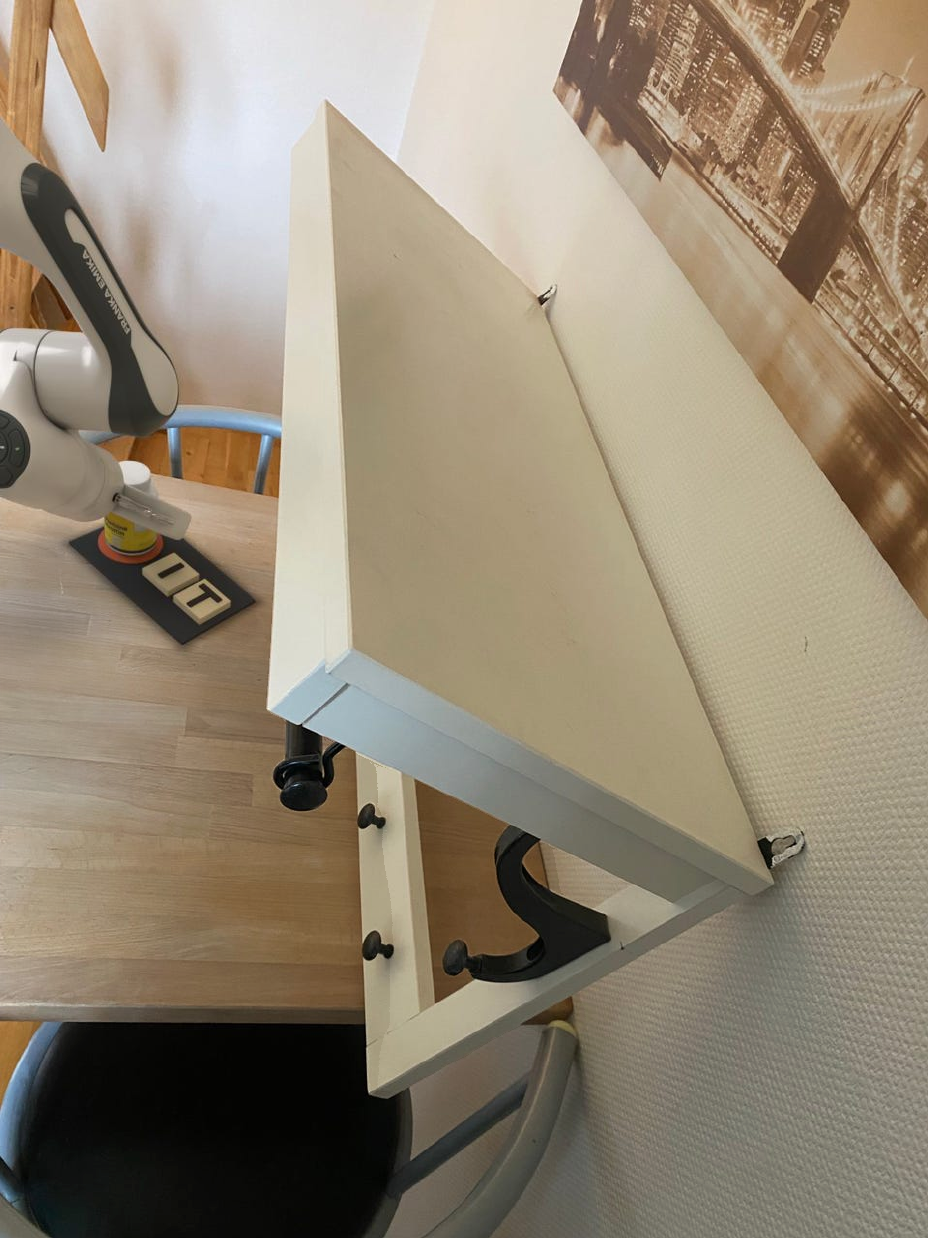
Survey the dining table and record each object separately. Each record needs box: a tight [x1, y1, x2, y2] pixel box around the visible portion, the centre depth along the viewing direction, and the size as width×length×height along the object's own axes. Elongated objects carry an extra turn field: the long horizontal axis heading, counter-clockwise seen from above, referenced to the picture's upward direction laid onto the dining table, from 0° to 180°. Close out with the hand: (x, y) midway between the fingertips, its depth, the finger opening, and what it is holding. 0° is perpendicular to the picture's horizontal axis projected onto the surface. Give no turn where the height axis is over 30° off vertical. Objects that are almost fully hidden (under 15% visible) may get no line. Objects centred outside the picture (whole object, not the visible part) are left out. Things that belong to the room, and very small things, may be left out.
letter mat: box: [68, 525, 257, 646], centre depth 107 cm, size 22×12×2 cm, turn 52°
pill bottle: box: [103, 460, 159, 555], centre depth 105 cm, size 6×6×12 cm
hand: (133, 501), depth 105 cm, fingers closed on pill bottle, 6 cm apart
